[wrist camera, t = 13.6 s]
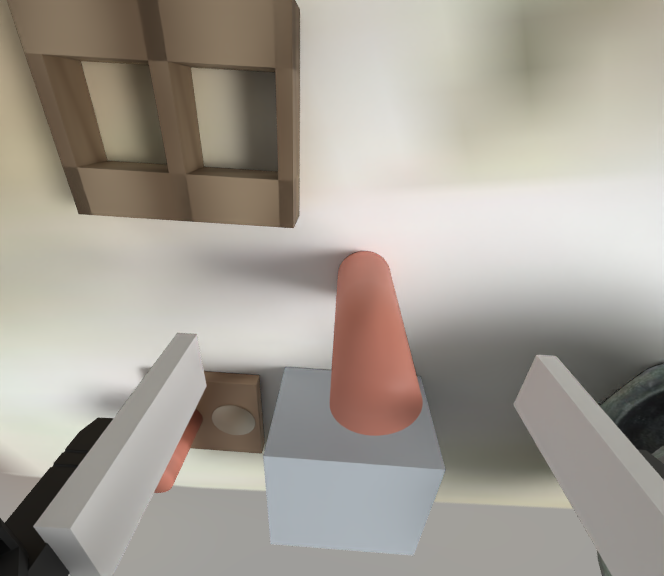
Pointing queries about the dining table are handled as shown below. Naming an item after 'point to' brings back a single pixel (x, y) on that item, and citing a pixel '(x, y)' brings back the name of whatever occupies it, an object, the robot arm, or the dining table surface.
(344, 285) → the peg
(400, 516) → the cover
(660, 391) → the bowl
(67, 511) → the robot arm
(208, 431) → the board
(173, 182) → the board
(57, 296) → the dining table surface
